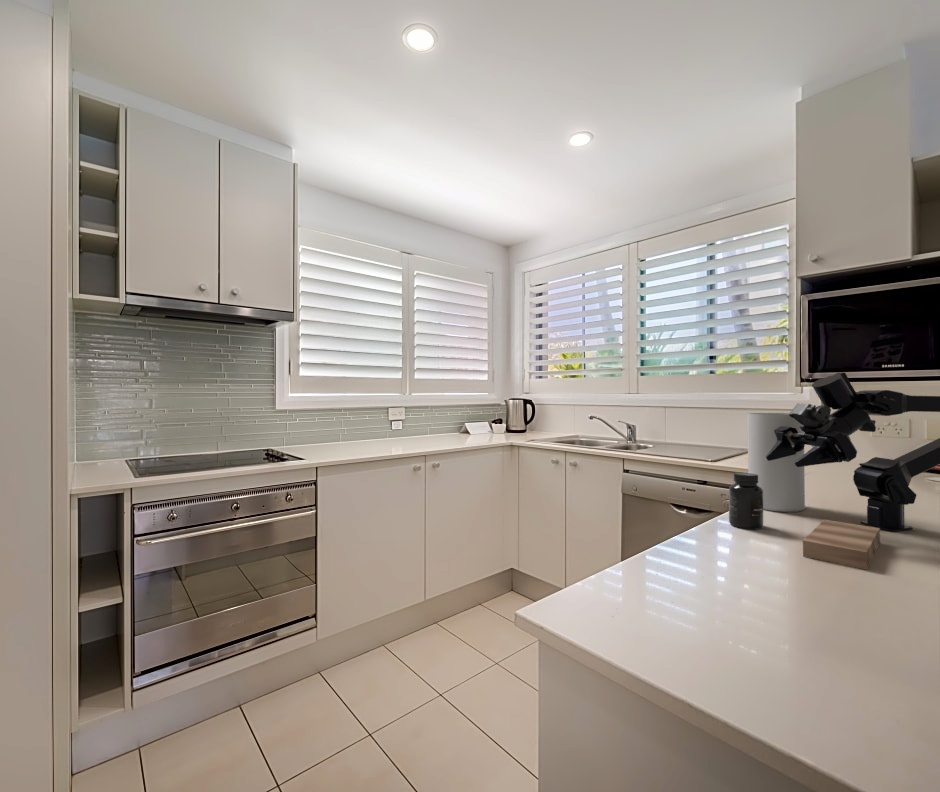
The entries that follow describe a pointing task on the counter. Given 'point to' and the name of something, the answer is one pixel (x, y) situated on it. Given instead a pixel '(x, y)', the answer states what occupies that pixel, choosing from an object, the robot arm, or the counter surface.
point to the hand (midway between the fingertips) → (780, 461)
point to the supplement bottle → (746, 502)
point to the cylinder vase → (775, 463)
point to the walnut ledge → (842, 543)
